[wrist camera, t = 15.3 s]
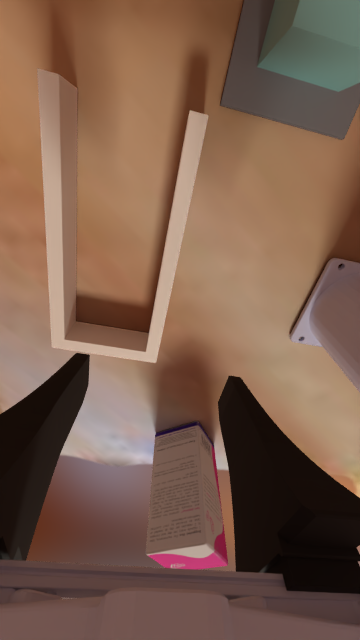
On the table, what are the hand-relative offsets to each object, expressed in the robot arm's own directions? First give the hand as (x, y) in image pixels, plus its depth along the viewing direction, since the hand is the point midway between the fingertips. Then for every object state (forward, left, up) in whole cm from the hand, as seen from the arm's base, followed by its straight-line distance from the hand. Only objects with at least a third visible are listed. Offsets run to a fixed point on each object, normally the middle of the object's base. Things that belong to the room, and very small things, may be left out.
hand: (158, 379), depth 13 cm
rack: (+4, -4, -10) cm, 11 cm away
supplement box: (-6, +19, -10) cm, 22 cm away
